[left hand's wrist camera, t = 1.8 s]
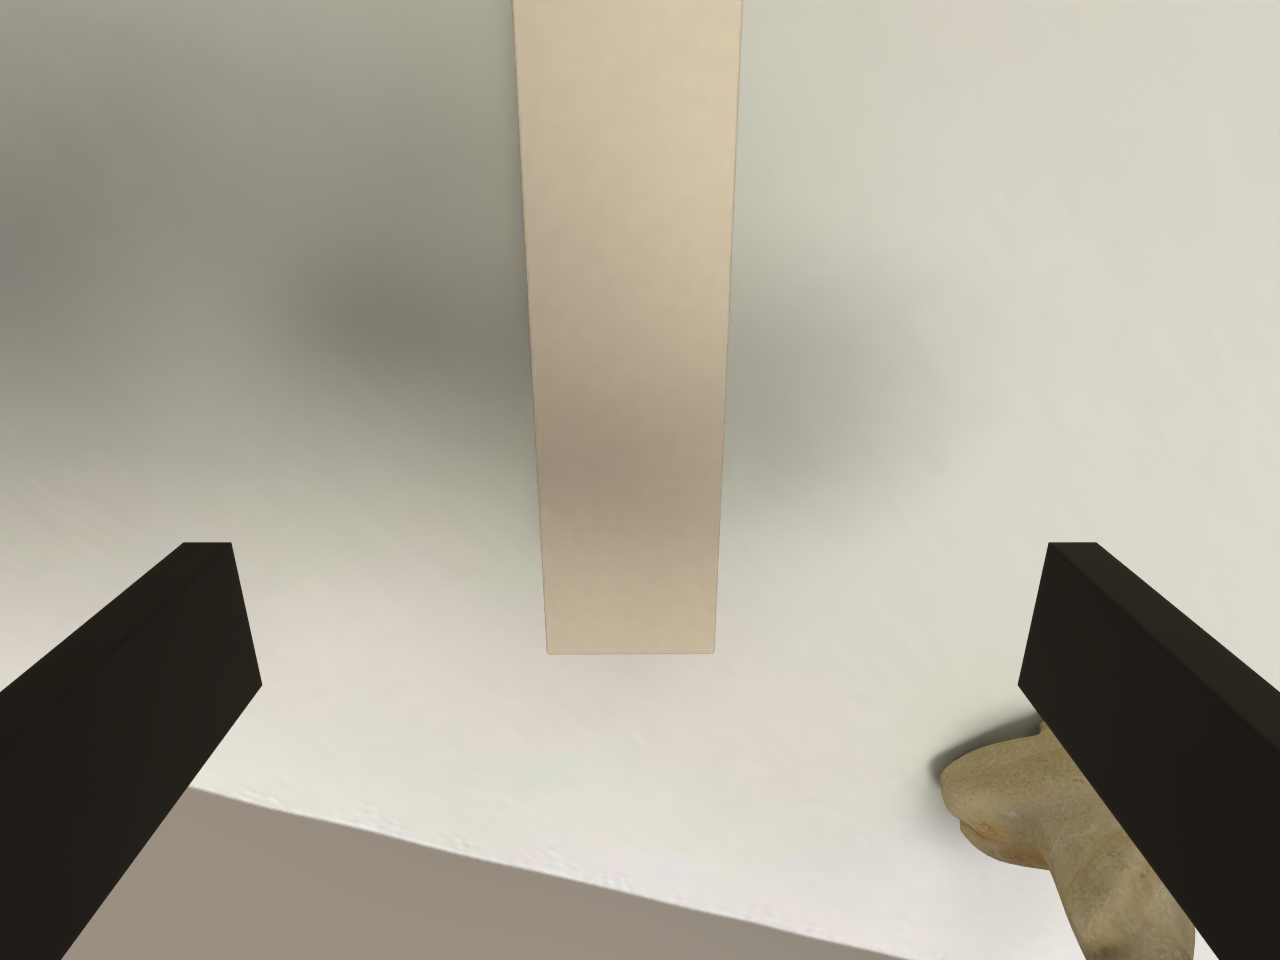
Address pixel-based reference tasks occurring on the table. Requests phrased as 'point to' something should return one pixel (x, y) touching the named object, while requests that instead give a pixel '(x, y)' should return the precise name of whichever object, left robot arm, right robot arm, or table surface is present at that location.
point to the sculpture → (1067, 846)
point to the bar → (628, 309)
